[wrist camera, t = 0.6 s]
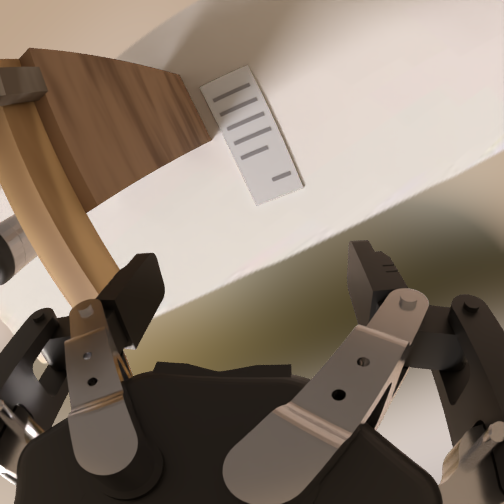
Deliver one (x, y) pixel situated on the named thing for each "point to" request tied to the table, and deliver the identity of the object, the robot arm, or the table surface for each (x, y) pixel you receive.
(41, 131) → the block
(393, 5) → the table surface
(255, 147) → the letter
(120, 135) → the brown piece
